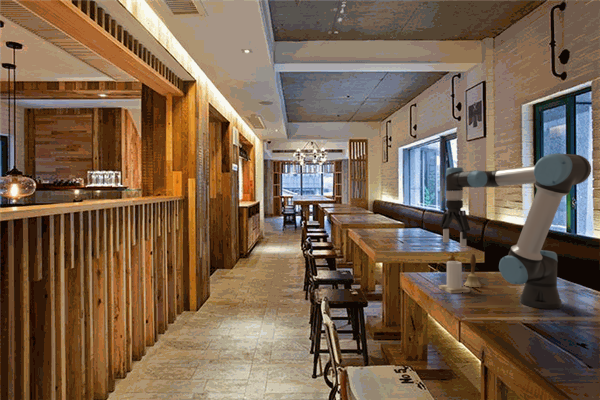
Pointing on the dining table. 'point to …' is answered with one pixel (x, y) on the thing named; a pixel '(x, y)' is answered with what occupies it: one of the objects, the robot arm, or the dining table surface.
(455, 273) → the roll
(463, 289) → the stand
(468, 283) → the hand bell
